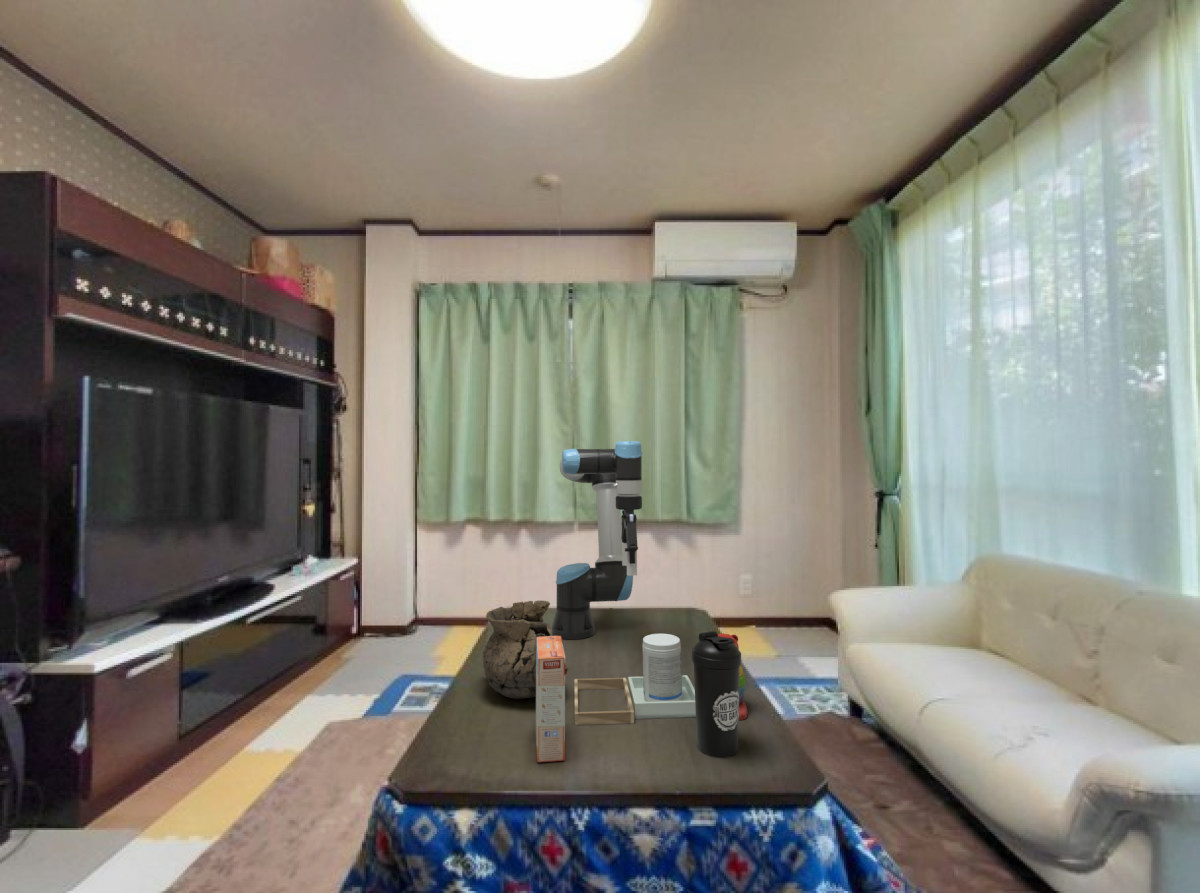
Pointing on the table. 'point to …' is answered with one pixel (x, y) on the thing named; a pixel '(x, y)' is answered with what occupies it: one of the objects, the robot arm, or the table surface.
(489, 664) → the clay pot
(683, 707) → the pale mint square tray
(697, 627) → the table surface
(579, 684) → the oak frame
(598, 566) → the robot arm
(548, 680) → the cracker box
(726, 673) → the water bottle
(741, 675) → the stacking bear
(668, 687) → the supplement tub
